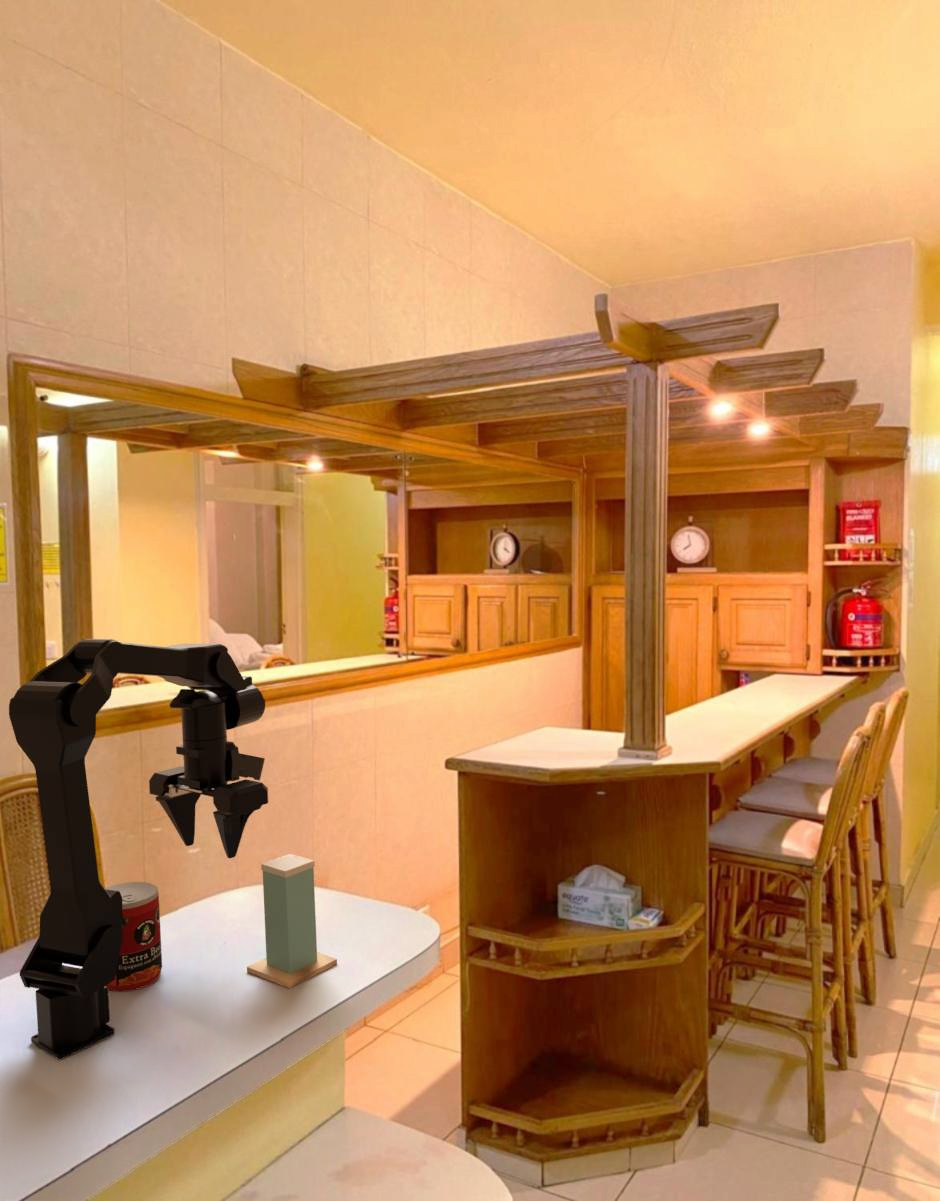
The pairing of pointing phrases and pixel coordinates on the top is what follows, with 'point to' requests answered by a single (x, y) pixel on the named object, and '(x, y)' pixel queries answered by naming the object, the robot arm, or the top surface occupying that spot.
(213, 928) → the top surface
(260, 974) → the coaster
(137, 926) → the canned food
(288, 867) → the tea tin
